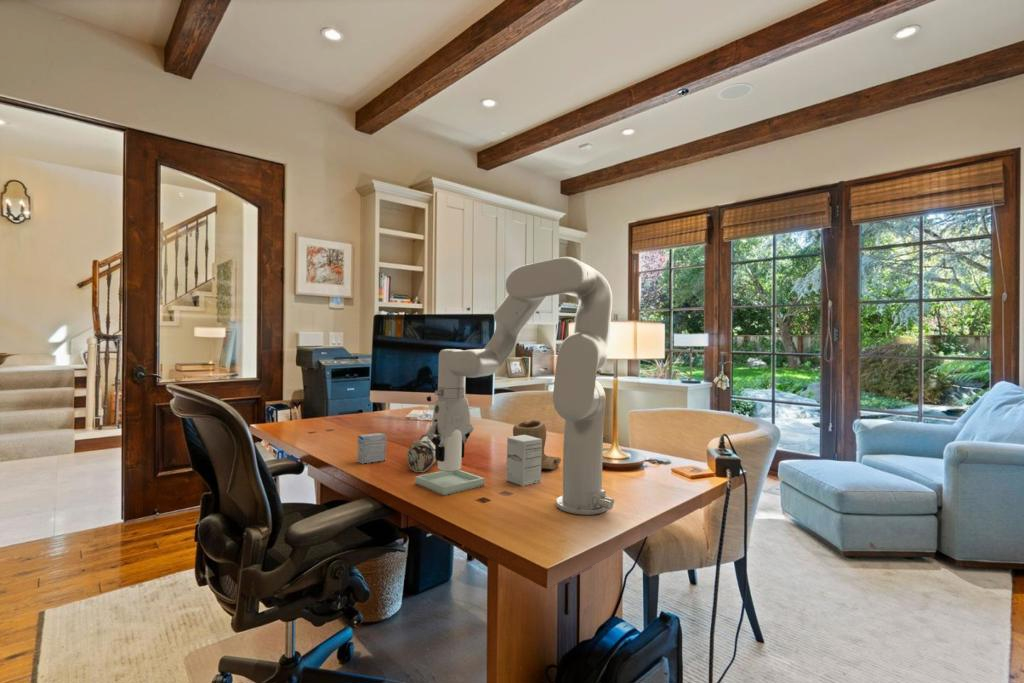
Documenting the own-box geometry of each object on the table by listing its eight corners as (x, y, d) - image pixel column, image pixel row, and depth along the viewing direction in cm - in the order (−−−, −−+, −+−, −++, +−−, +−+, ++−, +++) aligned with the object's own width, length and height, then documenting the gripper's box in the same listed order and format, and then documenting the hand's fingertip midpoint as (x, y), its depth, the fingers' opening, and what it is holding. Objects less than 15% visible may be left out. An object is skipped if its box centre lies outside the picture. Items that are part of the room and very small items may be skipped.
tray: (484, 485, 134) (484, 478, 134) (444, 495, 125) (444, 487, 125) (454, 475, 144) (454, 468, 144) (415, 483, 135) (415, 476, 135)
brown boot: (506, 471, 150) (507, 422, 150) (515, 462, 161) (516, 416, 161) (555, 475, 146) (556, 425, 146) (561, 465, 158) (562, 419, 158)
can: (463, 466, 137) (464, 424, 137) (458, 472, 131) (459, 428, 131) (440, 465, 138) (442, 423, 138) (435, 471, 132) (436, 427, 132)
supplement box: (505, 480, 139) (506, 436, 139) (524, 476, 144) (525, 434, 144) (522, 487, 134) (523, 441, 134) (541, 482, 139) (542, 438, 139)
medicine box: (379, 458, 163) (380, 432, 163) (385, 461, 159) (386, 434, 159) (357, 461, 157) (357, 435, 157) (362, 464, 154) (363, 437, 154)
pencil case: (433, 474, 145) (434, 441, 145) (405, 473, 146) (406, 440, 146) (444, 456, 167) (444, 428, 167) (419, 456, 167) (420, 427, 167)
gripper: (433, 397, 126) (431, 466, 126) (484, 393, 138) (482, 456, 138) (417, 394, 131) (415, 460, 131) (467, 390, 143) (465, 451, 143)
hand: (449, 458), depth 134 cm, fingers closed on can, 6 cm apart
